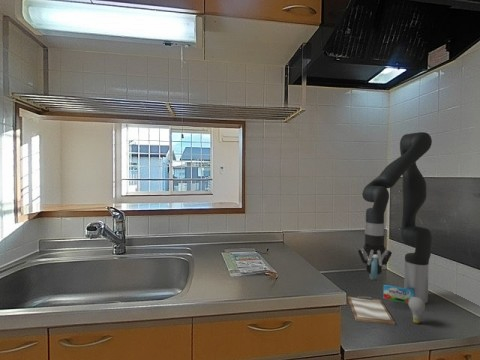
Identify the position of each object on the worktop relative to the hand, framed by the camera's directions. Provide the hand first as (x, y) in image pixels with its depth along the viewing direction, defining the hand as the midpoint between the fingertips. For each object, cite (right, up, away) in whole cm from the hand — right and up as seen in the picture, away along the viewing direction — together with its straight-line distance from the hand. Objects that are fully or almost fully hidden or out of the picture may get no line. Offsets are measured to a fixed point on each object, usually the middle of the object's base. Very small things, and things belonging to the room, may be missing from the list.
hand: (373, 273), depth 122 cm
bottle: (0, -3, 0) cm, 3 cm away
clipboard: (-3, -15, -2) cm, 15 cm away
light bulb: (+11, -16, -12) cm, 22 cm away
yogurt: (+14, -15, +7) cm, 22 cm away
